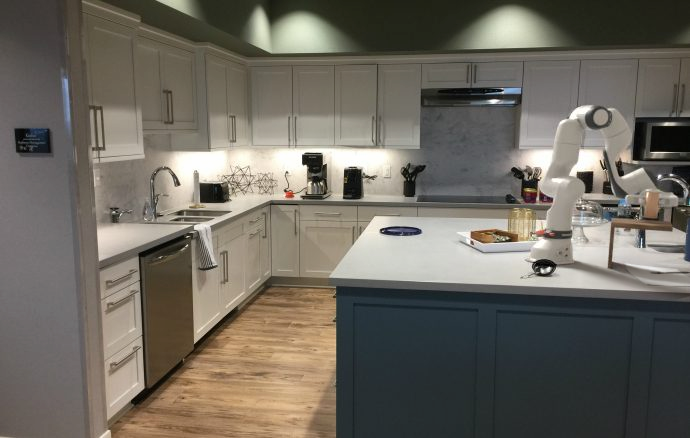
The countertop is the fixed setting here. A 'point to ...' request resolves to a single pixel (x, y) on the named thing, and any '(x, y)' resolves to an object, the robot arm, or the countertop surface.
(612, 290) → the countertop surface
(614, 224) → the shelf
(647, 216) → the jar
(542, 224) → the cupcake
